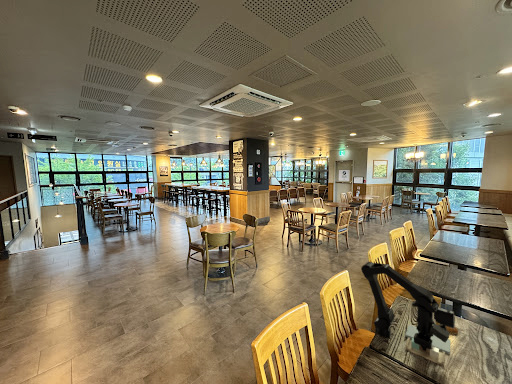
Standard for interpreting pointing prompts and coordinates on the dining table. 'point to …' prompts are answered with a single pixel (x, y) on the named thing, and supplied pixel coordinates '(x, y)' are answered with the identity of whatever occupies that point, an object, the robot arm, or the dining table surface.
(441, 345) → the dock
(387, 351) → the dining table surface
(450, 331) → the pastry
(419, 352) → the tray
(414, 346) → the block
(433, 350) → the block
